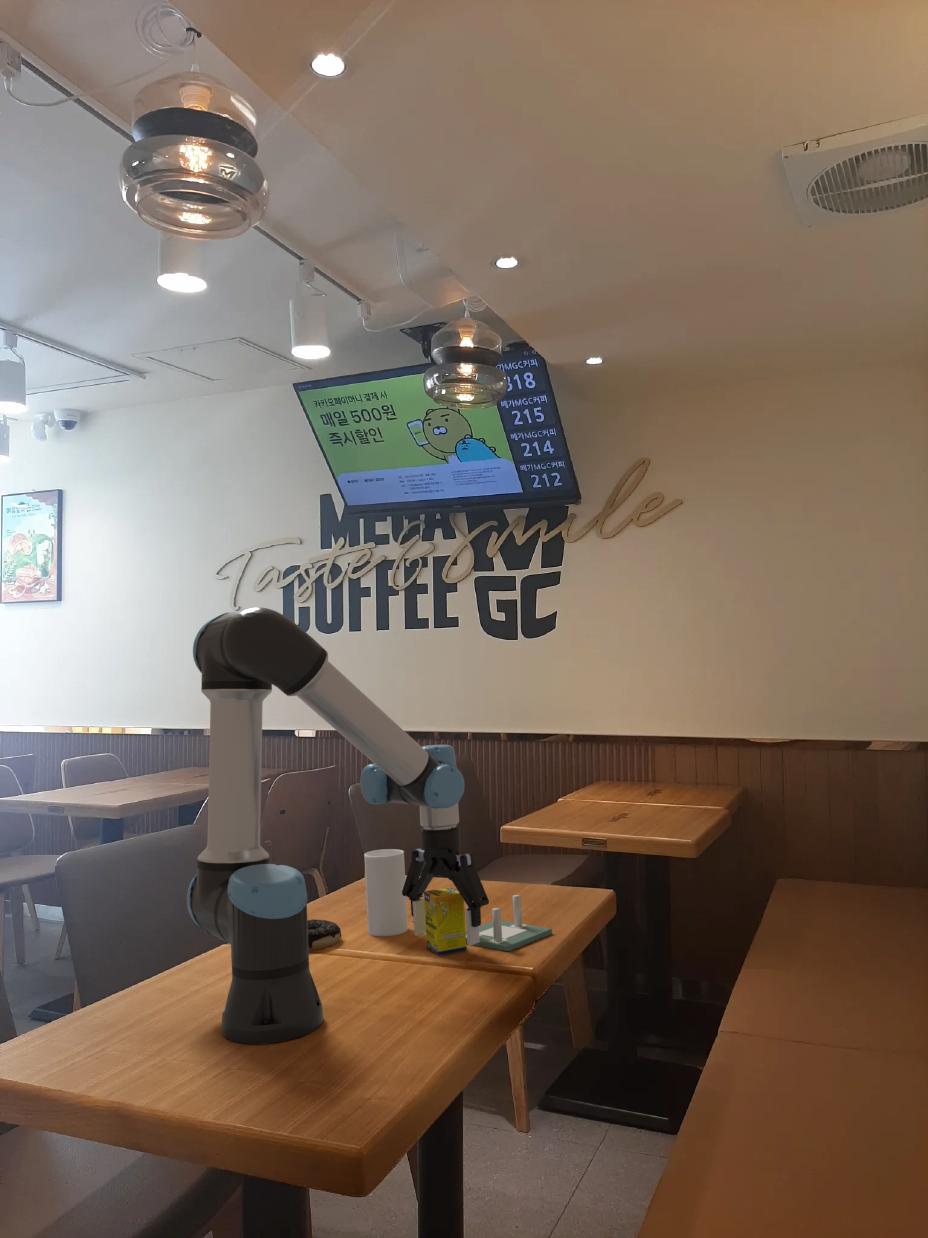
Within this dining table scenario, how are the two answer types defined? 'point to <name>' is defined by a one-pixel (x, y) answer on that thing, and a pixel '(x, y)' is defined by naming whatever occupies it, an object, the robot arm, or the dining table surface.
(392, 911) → the cup
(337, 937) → the donut
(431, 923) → the supplement box
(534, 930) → the header board
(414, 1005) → the dining table surface
